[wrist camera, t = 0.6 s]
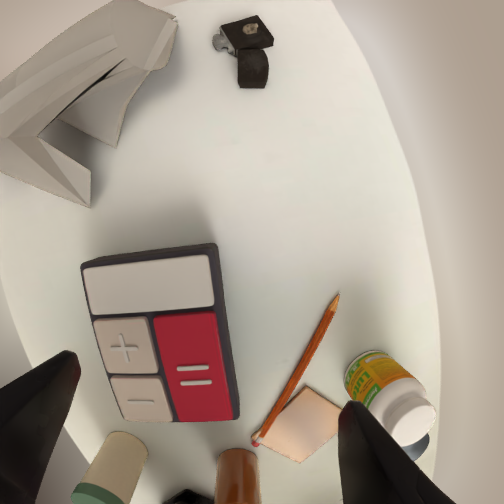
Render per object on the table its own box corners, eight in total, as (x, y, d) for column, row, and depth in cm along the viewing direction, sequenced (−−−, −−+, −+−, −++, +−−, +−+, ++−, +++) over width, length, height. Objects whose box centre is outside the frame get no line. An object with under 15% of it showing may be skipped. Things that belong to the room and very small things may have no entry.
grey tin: (381, 442, 27) (401, 473, 21) (356, 428, 26) (376, 462, 20) (411, 412, 26) (437, 439, 20) (389, 396, 26) (415, 425, 20)
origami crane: (112, 5, 22) (70, -71, 8) (219, 30, 23) (213, -76, 9) (1, 197, 23) (-94, 190, 9) (91, 257, 24) (-17, 286, 10)
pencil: (251, 441, 26) (251, 445, 25) (335, 289, 25) (337, 291, 24) (258, 443, 26) (258, 447, 25) (342, 293, 25) (345, 294, 24)
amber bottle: (240, 478, 26) (242, 551, 15) (209, 462, 26) (200, 538, 15) (266, 459, 26) (276, 536, 15) (234, 442, 26) (233, 522, 15)
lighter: (297, 68, 21) (241, 86, 21) (293, 79, 23) (241, 96, 23) (257, 10, 21) (206, 25, 21) (256, 22, 23) (208, 37, 23)
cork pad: (299, 461, 26) (300, 463, 26) (251, 436, 26) (251, 438, 25) (352, 415, 26) (353, 417, 26) (305, 385, 26) (306, 387, 25)
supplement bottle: (346, 351, 25) (391, 404, 16) (395, 346, 26) (451, 389, 16) (339, 399, 26) (375, 460, 16) (386, 392, 26) (432, 444, 16)
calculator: (121, 425, 21) (73, 264, 20) (133, 401, 26) (97, 256, 24) (240, 425, 22) (212, 247, 20) (240, 398, 26) (217, 241, 24)
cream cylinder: (136, 468, 26) (111, 530, 15) (99, 443, 25) (64, 501, 15) (157, 450, 26) (132, 518, 15) (117, 423, 25) (80, 486, 15)
